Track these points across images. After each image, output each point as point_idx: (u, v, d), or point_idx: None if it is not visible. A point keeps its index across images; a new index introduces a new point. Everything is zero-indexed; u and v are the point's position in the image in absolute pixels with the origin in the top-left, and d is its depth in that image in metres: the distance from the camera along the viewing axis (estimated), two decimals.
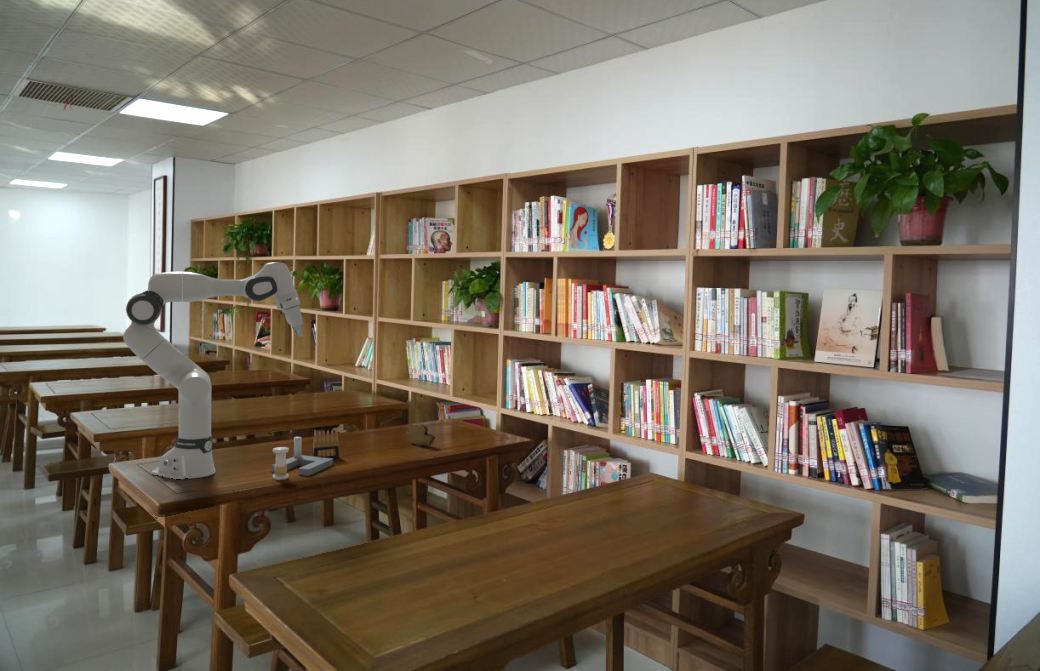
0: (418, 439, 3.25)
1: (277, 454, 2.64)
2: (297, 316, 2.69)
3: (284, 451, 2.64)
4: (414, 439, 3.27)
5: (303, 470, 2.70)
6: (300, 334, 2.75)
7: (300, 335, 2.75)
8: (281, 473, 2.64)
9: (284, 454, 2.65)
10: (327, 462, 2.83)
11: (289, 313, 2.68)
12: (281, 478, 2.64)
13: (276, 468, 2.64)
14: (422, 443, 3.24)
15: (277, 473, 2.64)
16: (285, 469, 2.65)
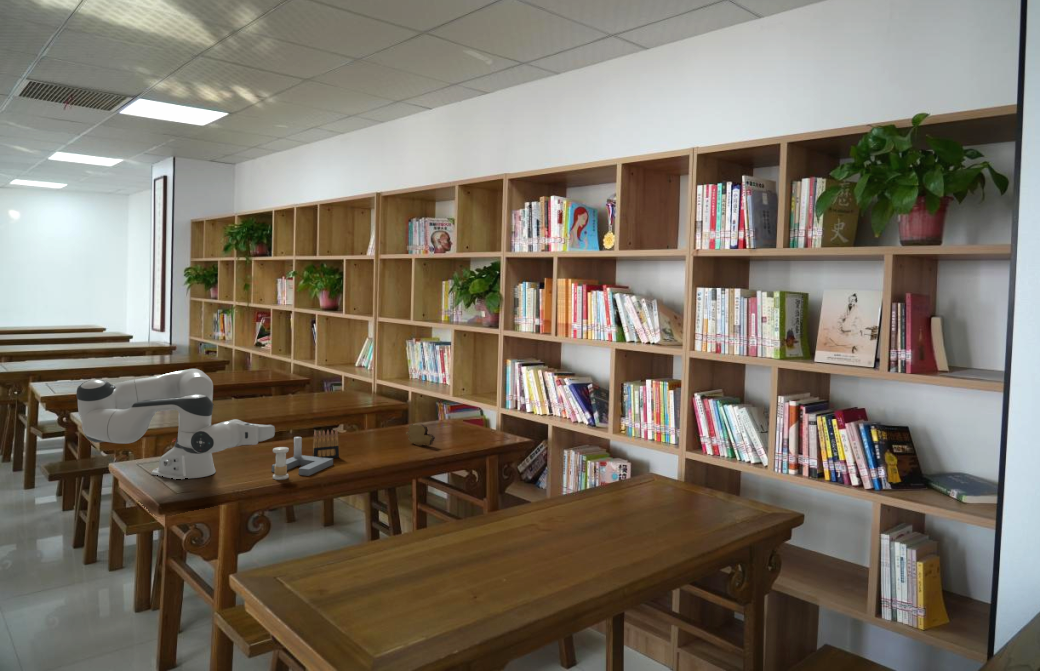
0: (418, 439, 3.25)
1: (277, 454, 2.64)
2: (269, 431, 2.41)
3: (284, 451, 2.64)
4: (414, 439, 3.27)
5: (303, 470, 2.70)
6: None
7: None
8: (281, 473, 2.64)
9: (284, 454, 2.65)
10: (327, 462, 2.83)
11: (264, 438, 2.40)
12: (281, 478, 2.64)
13: (276, 468, 2.64)
14: (422, 443, 3.24)
15: (277, 473, 2.64)
16: (285, 469, 2.65)
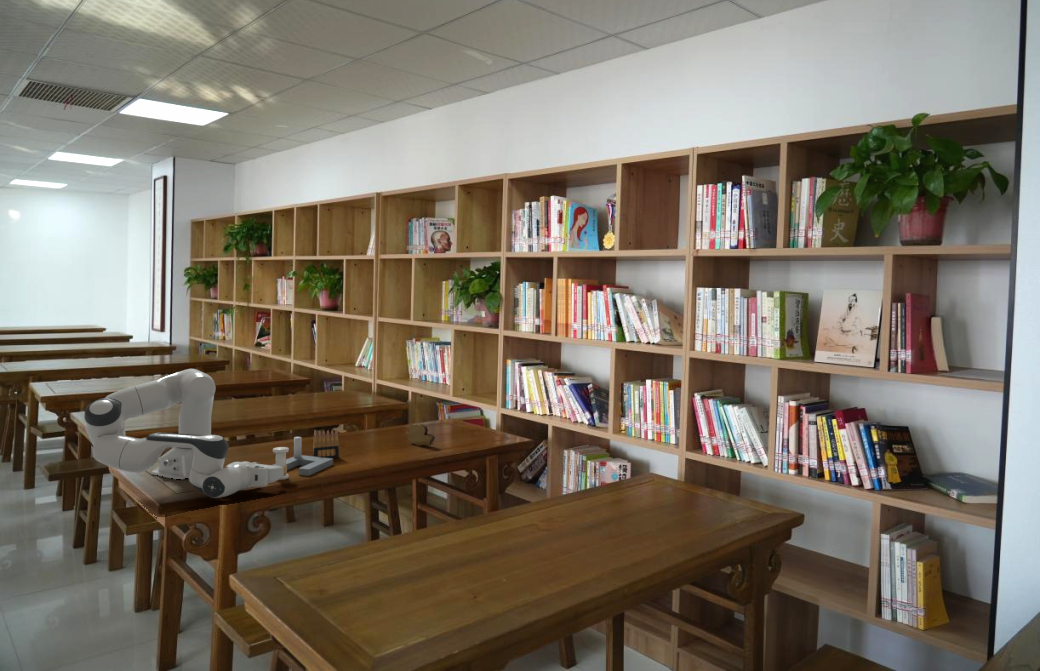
0: (418, 439, 3.25)
1: (277, 454, 2.64)
2: (278, 472, 2.47)
3: (284, 451, 2.64)
4: (414, 439, 3.27)
5: (303, 470, 2.70)
6: None
7: None
8: None
9: (284, 454, 2.65)
10: (327, 462, 2.83)
11: (274, 480, 2.45)
12: (281, 478, 2.64)
13: None
14: (422, 443, 3.24)
15: None
16: (285, 469, 2.65)
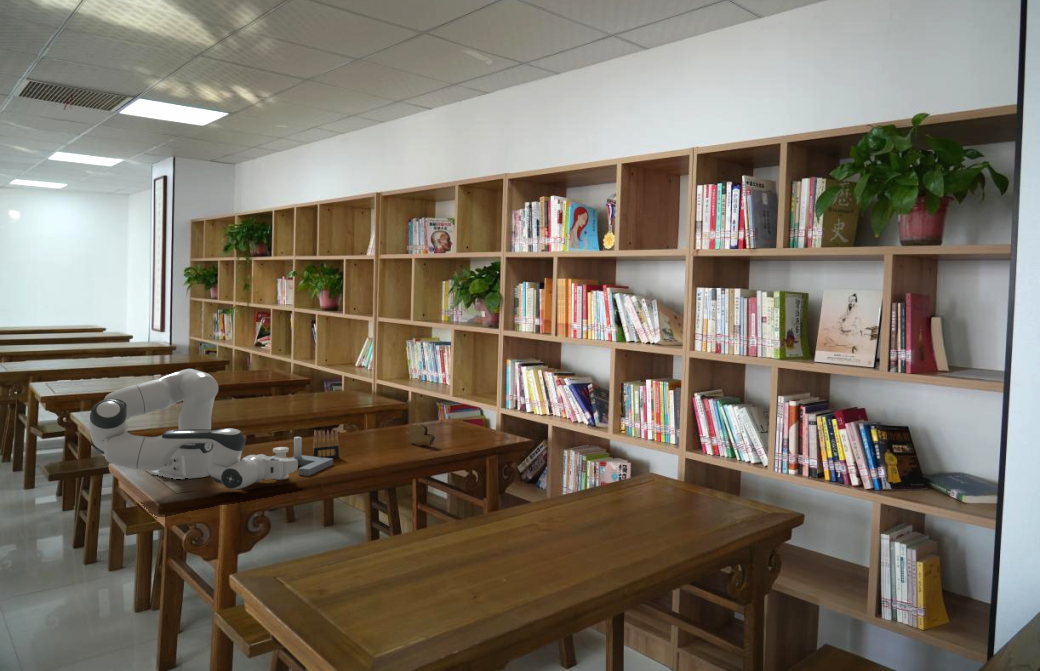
0: (418, 439, 3.25)
1: (277, 454, 2.64)
2: (292, 464, 2.56)
3: (284, 451, 2.64)
4: (414, 439, 3.27)
5: (303, 470, 2.70)
6: None
7: None
8: None
9: (284, 454, 2.65)
10: (327, 462, 2.83)
11: (288, 472, 2.54)
12: (281, 478, 2.64)
13: None
14: (422, 443, 3.24)
15: None
16: None
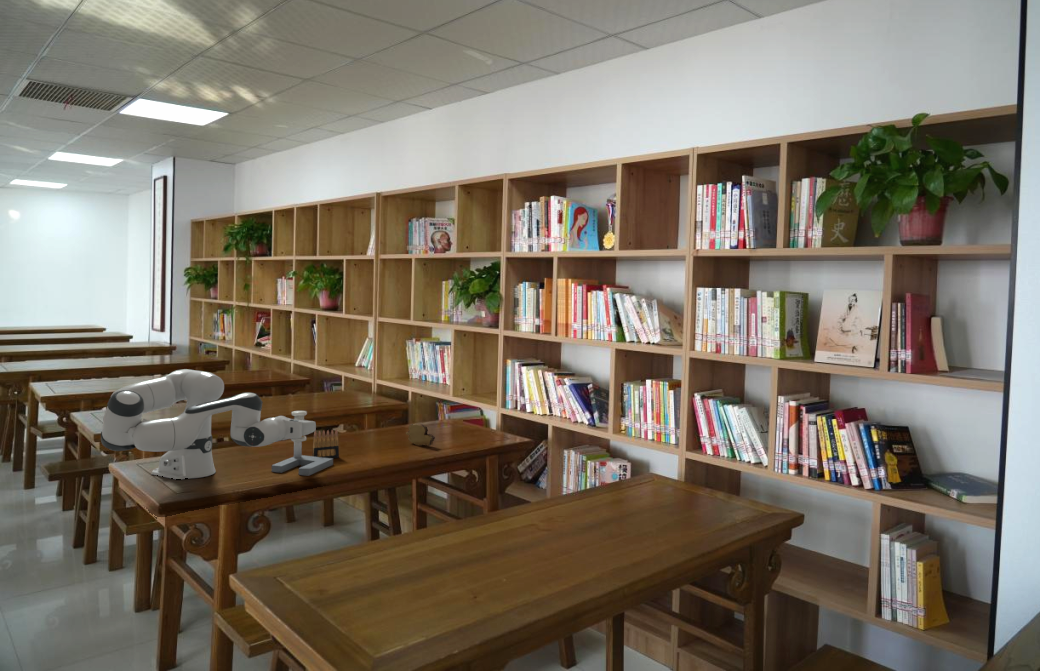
0: (418, 439, 3.25)
1: (296, 417, 2.75)
2: (311, 426, 2.67)
3: (302, 414, 2.74)
4: (414, 439, 3.27)
5: (303, 470, 2.70)
6: None
7: None
8: None
9: (302, 417, 2.75)
10: (327, 462, 2.83)
11: (307, 433, 2.65)
12: (299, 440, 2.74)
13: None
14: (422, 443, 3.24)
15: None
16: None
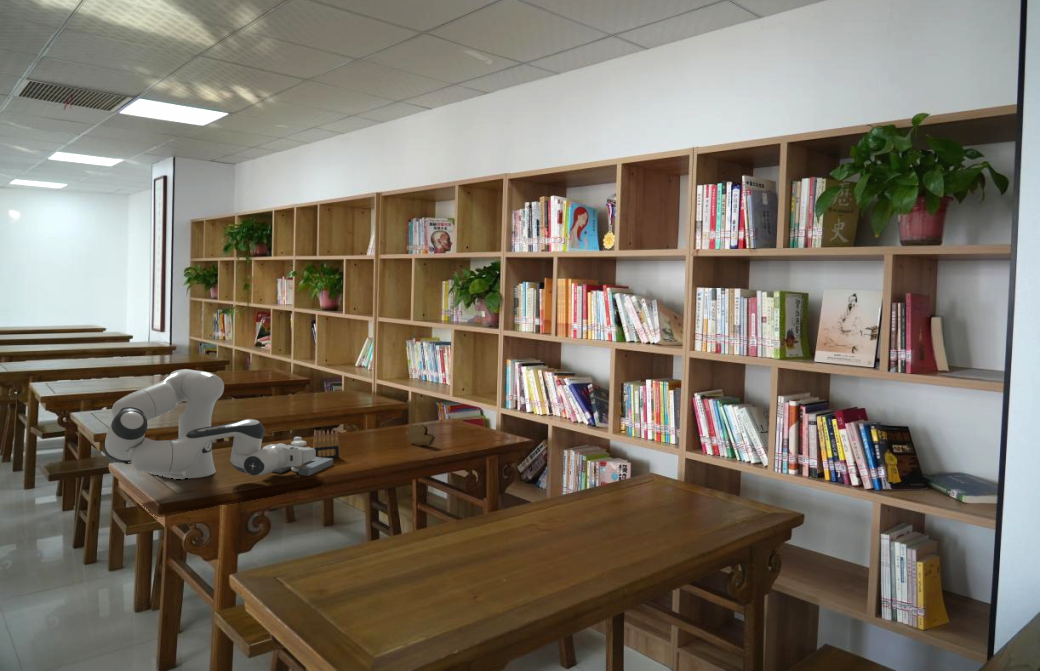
0: (418, 439, 3.25)
1: None
2: (311, 453, 2.67)
3: (302, 444, 2.75)
4: (414, 439, 3.27)
5: (303, 470, 2.70)
6: None
7: None
8: None
9: None
10: (327, 462, 2.83)
11: (307, 460, 2.66)
12: None
13: None
14: (422, 443, 3.24)
15: None
16: None
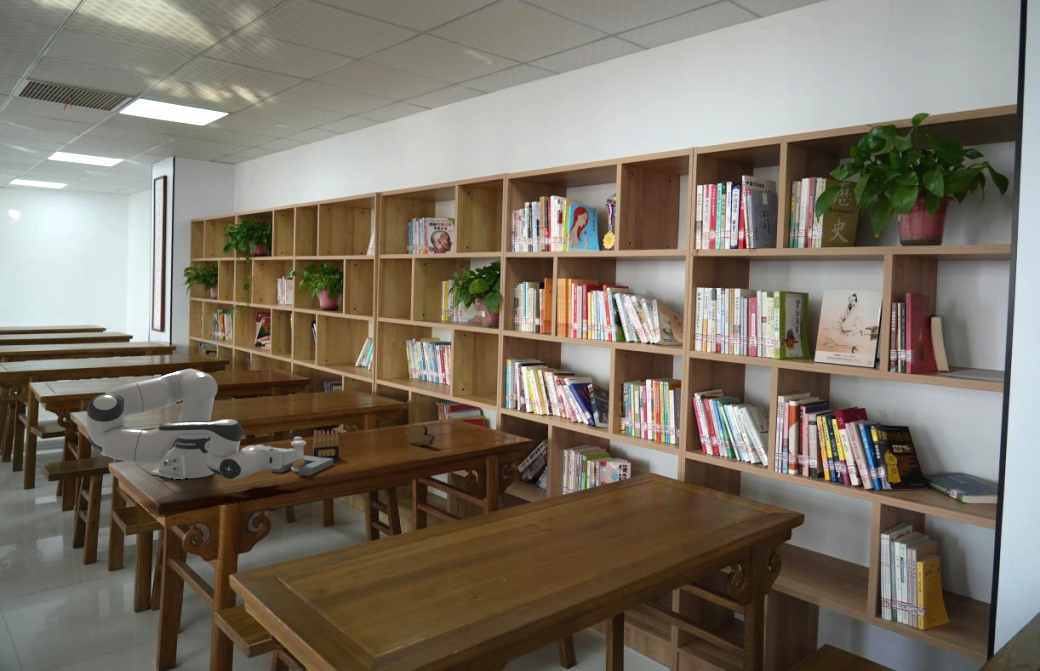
0: (418, 439, 3.25)
1: (295, 447, 2.75)
2: (291, 455, 2.54)
3: (302, 444, 2.75)
4: (414, 439, 3.27)
5: (303, 470, 2.70)
6: None
7: None
8: (299, 465, 2.76)
9: (302, 447, 2.76)
10: (327, 462, 2.83)
11: (287, 462, 2.53)
12: None
13: (294, 461, 2.75)
14: (422, 443, 3.24)
15: (295, 465, 2.75)
16: (303, 461, 2.77)
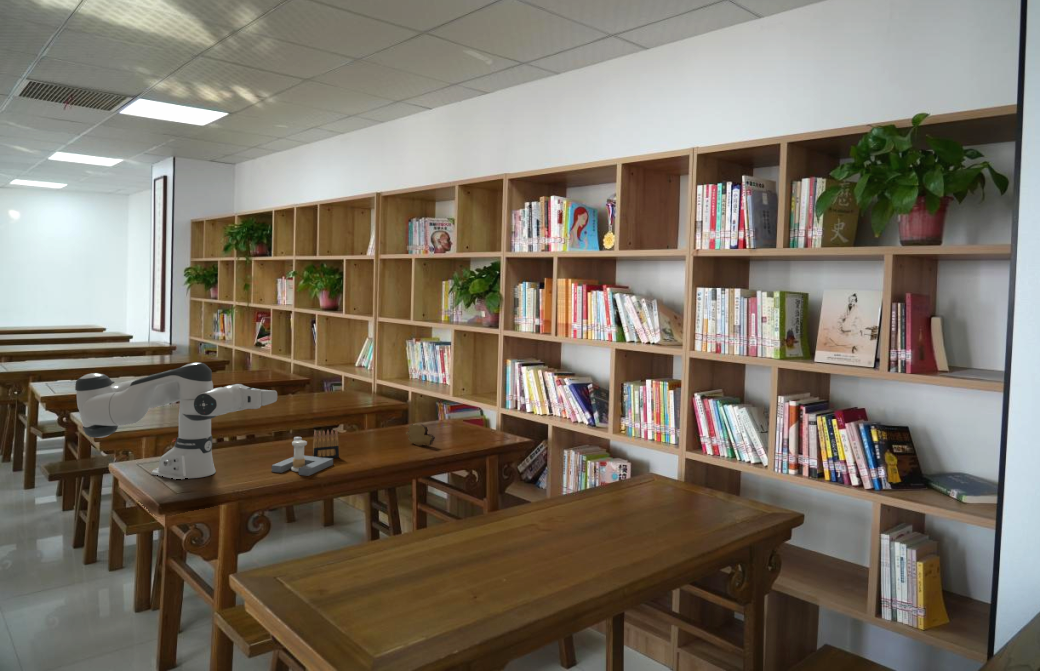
0: (418, 439, 3.25)
1: (296, 447, 2.76)
2: (271, 395, 2.42)
3: (302, 444, 2.75)
4: (414, 439, 3.27)
5: (303, 470, 2.70)
6: None
7: None
8: (299, 465, 2.76)
9: (302, 447, 2.76)
10: (327, 462, 2.83)
11: (267, 403, 2.40)
12: None
13: (294, 460, 2.76)
14: (422, 443, 3.24)
15: (295, 465, 2.76)
16: (303, 461, 2.77)
